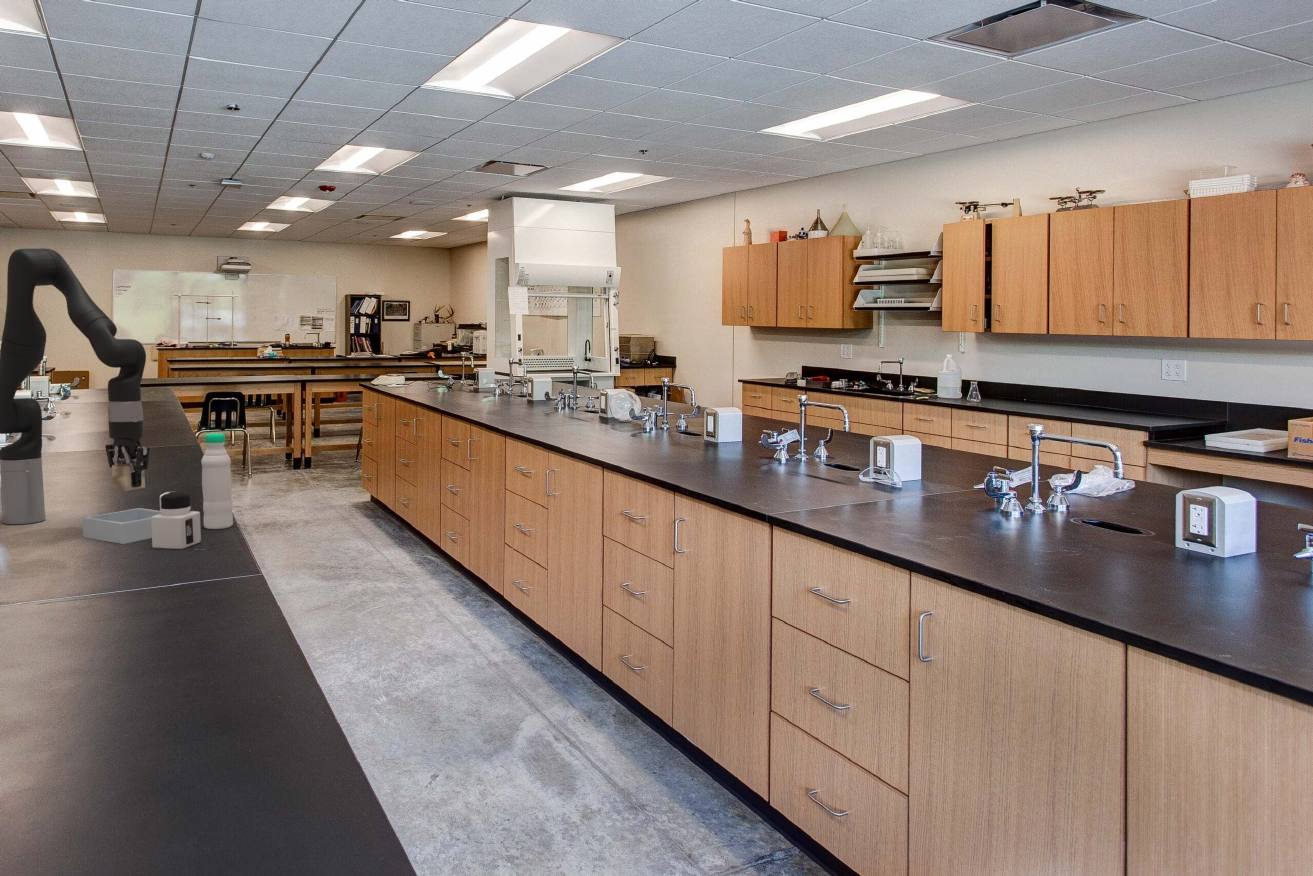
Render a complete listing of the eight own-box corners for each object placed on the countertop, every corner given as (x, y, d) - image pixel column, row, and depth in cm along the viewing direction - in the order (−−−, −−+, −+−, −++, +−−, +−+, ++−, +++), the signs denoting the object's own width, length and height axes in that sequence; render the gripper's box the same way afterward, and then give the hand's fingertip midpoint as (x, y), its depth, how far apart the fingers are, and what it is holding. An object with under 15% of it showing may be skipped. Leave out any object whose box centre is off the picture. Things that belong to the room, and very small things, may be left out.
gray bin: (83, 537, 223) (82, 517, 223) (140, 526, 237) (139, 508, 236) (123, 544, 217) (121, 523, 216) (178, 532, 230) (177, 513, 230)
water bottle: (225, 530, 234) (221, 435, 231) (198, 529, 234) (194, 434, 232) (238, 524, 241) (234, 432, 238) (212, 523, 241) (208, 432, 239)
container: (201, 542, 220) (199, 490, 219) (182, 549, 213) (179, 495, 211) (172, 541, 221) (169, 489, 220) (151, 548, 213) (149, 494, 212)
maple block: (113, 488, 224) (111, 465, 224) (132, 486, 229) (131, 463, 228) (126, 490, 222) (124, 466, 221) (145, 487, 227) (143, 464, 226)
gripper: (92, 418, 223) (96, 485, 225) (130, 421, 217) (133, 490, 219) (121, 416, 230) (124, 481, 232) (158, 419, 224) (162, 486, 226)
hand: (129, 485), depth 225 cm, fingers closed on maple block, 5 cm apart
